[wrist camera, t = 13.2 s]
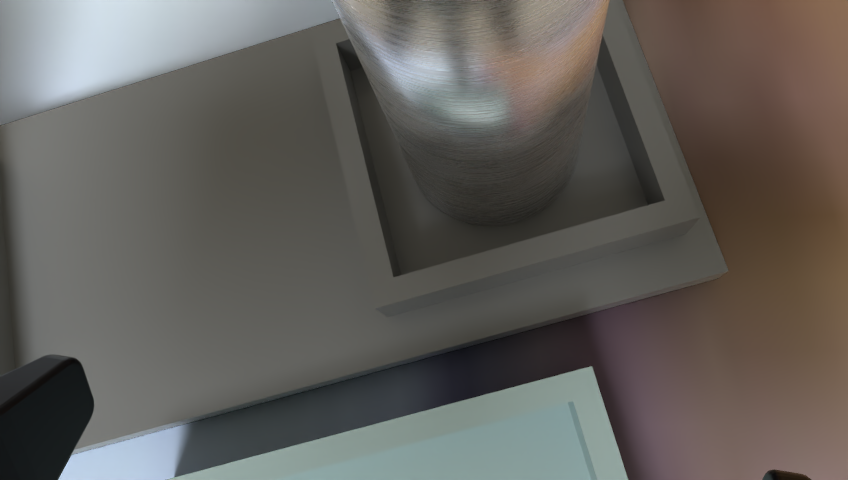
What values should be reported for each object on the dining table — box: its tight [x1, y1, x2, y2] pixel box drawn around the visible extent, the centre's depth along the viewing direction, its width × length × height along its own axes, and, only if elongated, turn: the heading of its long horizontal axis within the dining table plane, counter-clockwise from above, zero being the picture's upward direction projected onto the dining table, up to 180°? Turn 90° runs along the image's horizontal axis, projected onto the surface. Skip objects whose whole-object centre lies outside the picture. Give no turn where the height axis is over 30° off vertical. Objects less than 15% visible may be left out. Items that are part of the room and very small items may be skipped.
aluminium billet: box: [332, 0, 609, 226], centre depth 13 cm, size 4×4×11 cm
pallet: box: [0, 0, 728, 455], centre depth 18 cm, size 27×10×2 cm, turn 105°
